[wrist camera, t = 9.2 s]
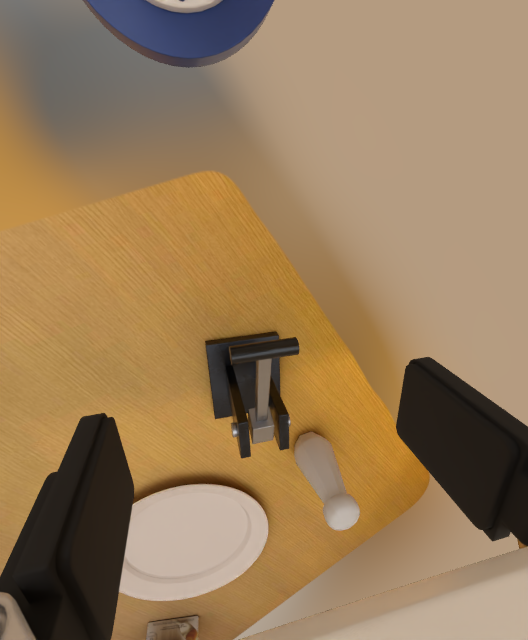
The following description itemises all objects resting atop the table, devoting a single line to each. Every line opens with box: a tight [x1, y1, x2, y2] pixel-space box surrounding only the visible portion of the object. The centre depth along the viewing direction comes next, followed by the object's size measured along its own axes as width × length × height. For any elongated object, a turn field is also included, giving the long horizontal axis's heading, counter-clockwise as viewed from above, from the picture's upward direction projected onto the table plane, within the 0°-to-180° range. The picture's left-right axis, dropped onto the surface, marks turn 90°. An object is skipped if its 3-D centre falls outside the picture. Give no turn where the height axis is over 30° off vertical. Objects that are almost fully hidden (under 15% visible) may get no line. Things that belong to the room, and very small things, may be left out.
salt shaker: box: [294, 431, 360, 530], centre depth 43 cm, size 6×6×13 cm
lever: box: [229, 337, 299, 444], centre depth 30 cm, size 13×6×2 cm, turn 2°
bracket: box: [205, 332, 291, 458], centre depth 37 cm, size 11×9×12 cm
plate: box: [119, 484, 268, 601], centre depth 50 cm, size 26×26×2 cm
